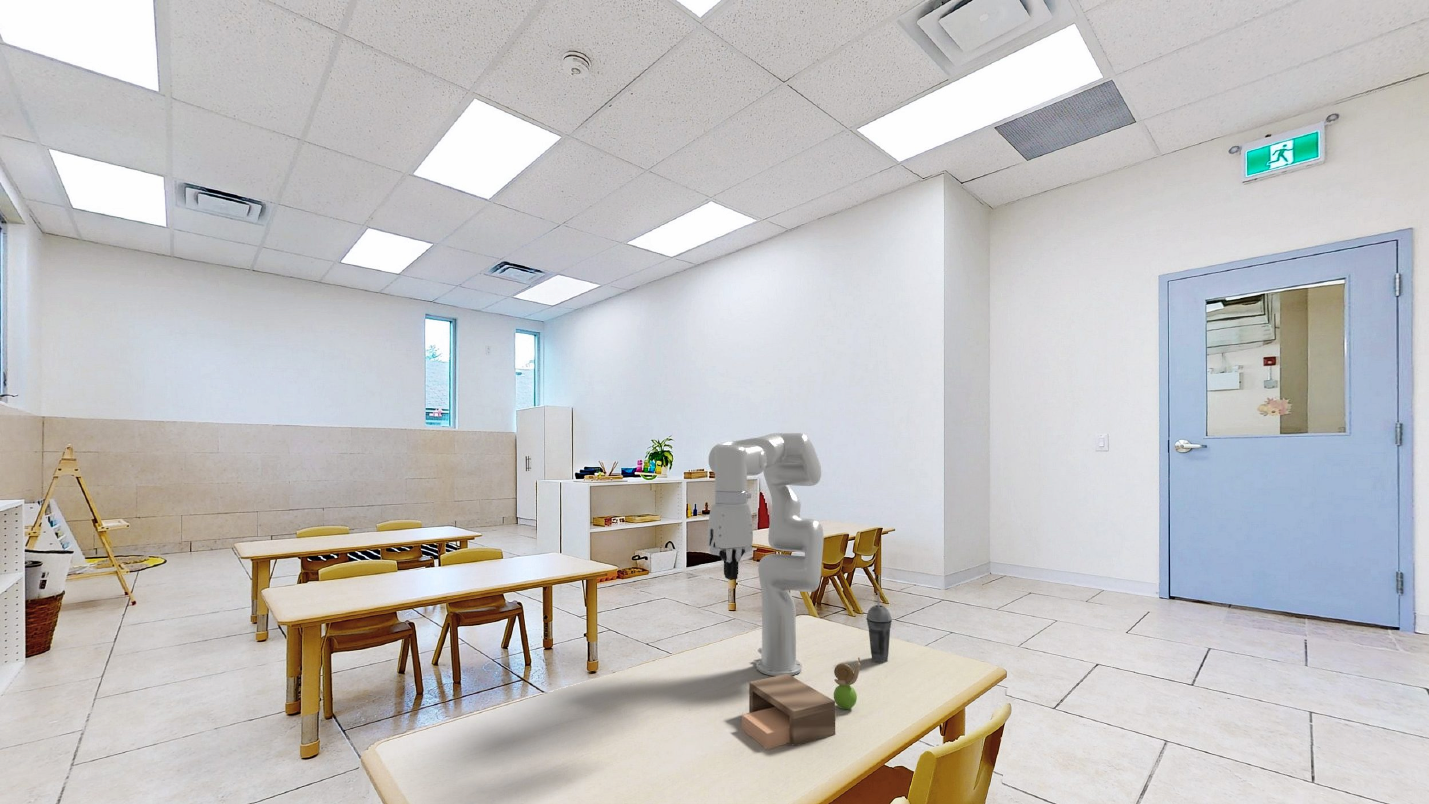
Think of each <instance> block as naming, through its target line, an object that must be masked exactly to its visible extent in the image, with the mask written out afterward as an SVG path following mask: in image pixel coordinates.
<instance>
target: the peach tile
mask: <svg viewBox="0 0 1429 804" xmlns="http://www.w3.org/2000/svg"><path fill="white" fill-rule="evenodd" d="M741 726H742V727H741V729H742V730H743V732H745V733H746V734H748V735H749V737H752V739H754V740H755V741H757V743H759V744H760V745H761V746H763V747H764V748H766V750H769V749H772V748H775V747H779V746H784V745H786V744H791V743H790V716H789V715H787V714H786V713H784V712H783V711H781V710H780V709H778V708H777V707H772V708H768V709H764V710H760V711H756V712H752V713H745V714H742V715H741Z"/></svg>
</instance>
